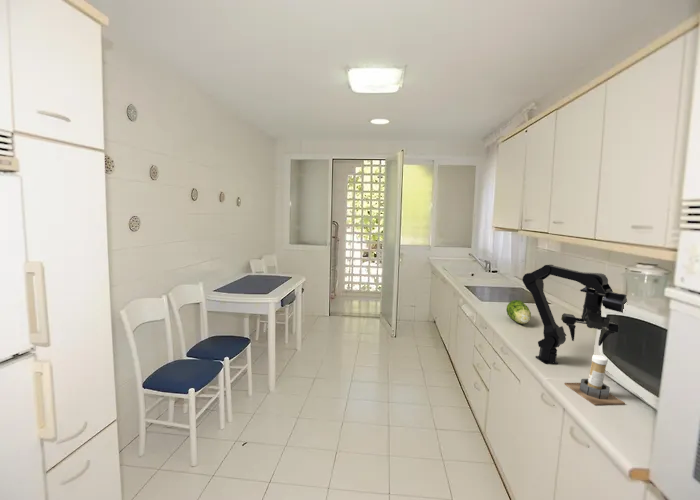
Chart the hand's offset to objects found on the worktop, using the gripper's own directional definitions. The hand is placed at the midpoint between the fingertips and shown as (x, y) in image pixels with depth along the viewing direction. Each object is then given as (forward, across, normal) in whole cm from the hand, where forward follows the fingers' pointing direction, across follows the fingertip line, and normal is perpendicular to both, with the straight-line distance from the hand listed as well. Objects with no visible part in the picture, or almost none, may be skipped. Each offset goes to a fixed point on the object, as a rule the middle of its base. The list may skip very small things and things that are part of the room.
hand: (585, 343), depth 147 cm
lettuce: (+13, -18, +60) cm, 64 cm away
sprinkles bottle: (+13, 0, -17) cm, 21 cm away
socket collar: (+13, 0, -17) cm, 21 cm away
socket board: (+13, 0, -17) cm, 21 cm away
